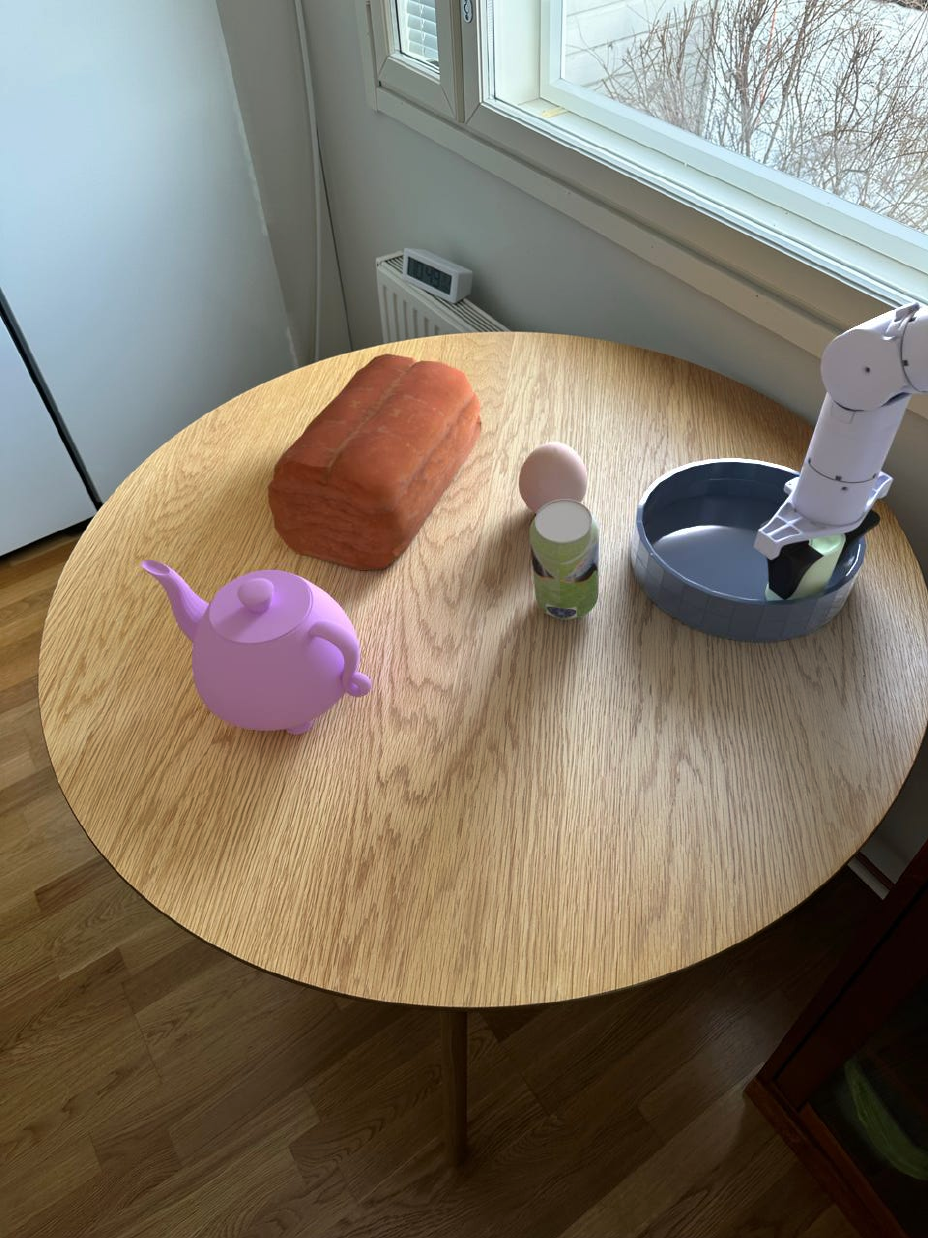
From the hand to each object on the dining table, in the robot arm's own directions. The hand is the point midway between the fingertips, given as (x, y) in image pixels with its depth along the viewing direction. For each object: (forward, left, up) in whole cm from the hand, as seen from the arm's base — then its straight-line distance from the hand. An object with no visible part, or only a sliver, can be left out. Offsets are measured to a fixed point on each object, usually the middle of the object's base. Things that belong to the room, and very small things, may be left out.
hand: (799, 580), depth 76 cm
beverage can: (+21, +4, -3) cm, 22 cm away
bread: (+43, -11, -3) cm, 45 cm away
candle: (0, 0, -3) cm, 3 cm away
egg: (+24, -10, -3) cm, 26 cm away
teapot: (+45, +18, -3) cm, 49 cm away
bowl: (+5, -5, -3) cm, 8 cm away
